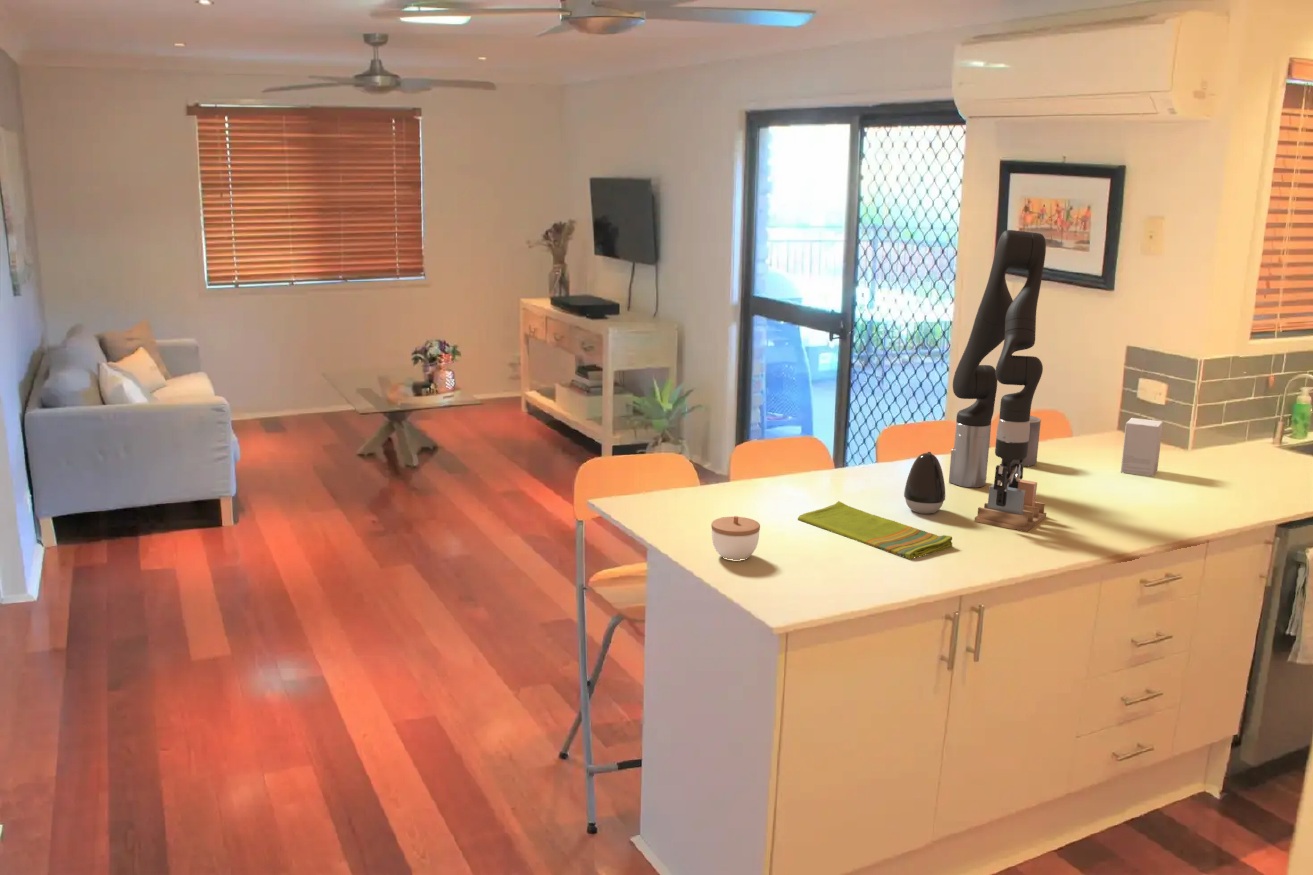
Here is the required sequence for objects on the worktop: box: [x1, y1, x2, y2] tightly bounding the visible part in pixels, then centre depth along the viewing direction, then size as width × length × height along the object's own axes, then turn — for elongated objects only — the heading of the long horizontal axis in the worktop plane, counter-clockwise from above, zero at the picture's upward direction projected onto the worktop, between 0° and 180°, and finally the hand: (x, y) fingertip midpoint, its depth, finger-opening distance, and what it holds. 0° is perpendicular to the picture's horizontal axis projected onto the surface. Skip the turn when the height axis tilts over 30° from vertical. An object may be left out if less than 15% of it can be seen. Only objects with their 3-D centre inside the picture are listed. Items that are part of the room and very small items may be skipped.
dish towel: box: [797, 500, 953, 560], centre depth 260 cm, size 15×36×3 cm, turn 38°
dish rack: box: [974, 501, 1047, 533], centre depth 272 cm, size 13×15×4 cm
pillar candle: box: [1024, 415, 1042, 467], centre depth 325 cm, size 10×10×15 cm
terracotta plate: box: [1018, 478, 1038, 507], centre depth 275 cm, size 8×2×8 cm, turn 54°
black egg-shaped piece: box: [903, 451, 946, 515], centre depth 276 cm, size 10×10×15 cm
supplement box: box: [1120, 417, 1164, 478], centre depth 317 cm, size 9×9×15 cm
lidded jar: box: [710, 515, 761, 560], centre depth 242 cm, size 11×11×9 cm
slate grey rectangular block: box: [987, 483, 1025, 515], centre depth 268 cm, size 8×2×8 cm, turn 54°
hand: (1006, 501), depth 268 cm, fingers open, 8 cm apart
